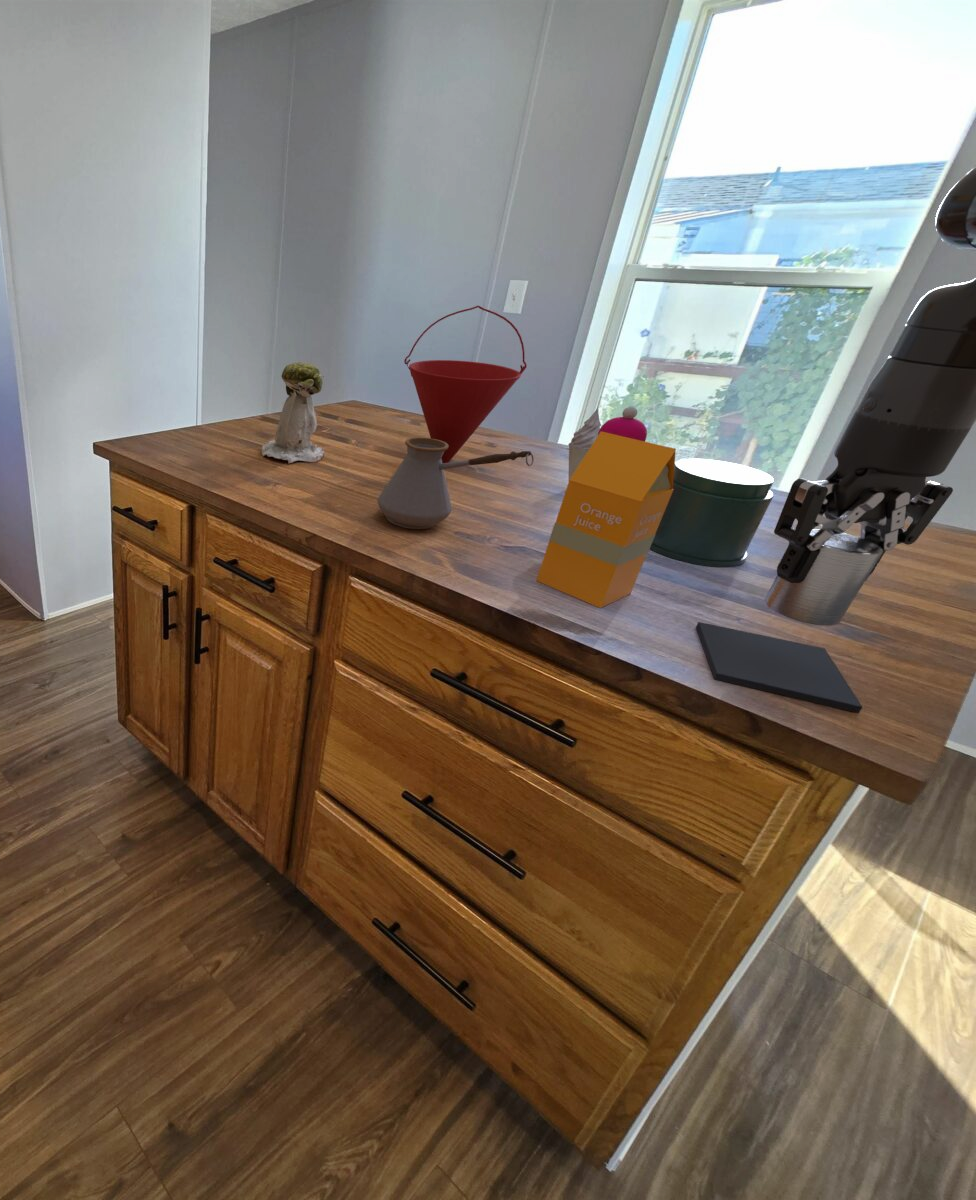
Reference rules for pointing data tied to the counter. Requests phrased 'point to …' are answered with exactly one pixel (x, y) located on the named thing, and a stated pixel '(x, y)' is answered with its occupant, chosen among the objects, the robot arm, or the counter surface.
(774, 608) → the silver cup
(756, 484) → the canister
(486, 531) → the counter surface
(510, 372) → the fire bucket
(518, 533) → the counter surface
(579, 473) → the orange juice
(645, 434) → the pepper mill
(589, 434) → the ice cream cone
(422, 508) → the coffee pot
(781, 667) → the mat
